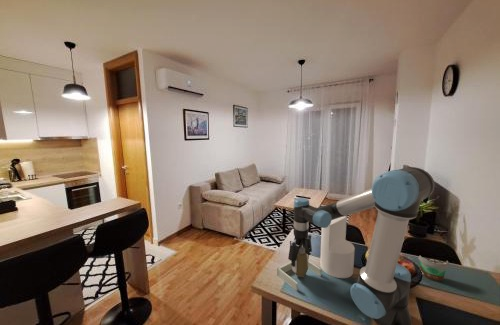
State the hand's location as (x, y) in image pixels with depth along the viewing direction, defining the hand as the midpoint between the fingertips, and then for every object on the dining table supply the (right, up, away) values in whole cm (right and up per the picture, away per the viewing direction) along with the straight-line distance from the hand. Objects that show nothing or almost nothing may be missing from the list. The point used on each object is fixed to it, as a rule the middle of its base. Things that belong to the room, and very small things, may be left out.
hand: (300, 267), depth 110 cm
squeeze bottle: (0, -3, +1) cm, 3 cm away
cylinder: (+22, -4, +7) cm, 24 cm away
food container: (+69, -4, -3) cm, 69 cm away
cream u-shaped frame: (0, -5, +1) cm, 5 cm away
